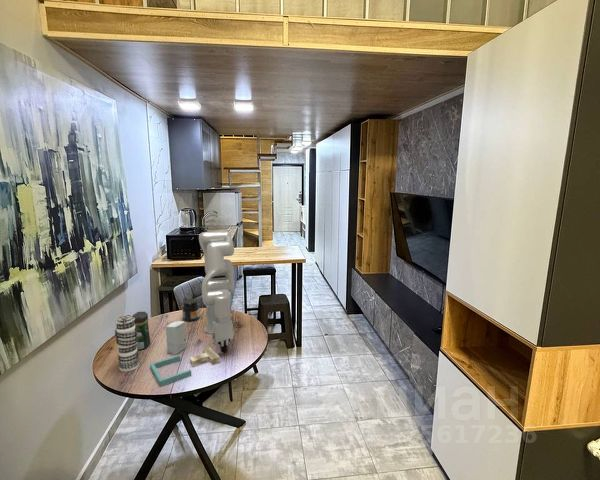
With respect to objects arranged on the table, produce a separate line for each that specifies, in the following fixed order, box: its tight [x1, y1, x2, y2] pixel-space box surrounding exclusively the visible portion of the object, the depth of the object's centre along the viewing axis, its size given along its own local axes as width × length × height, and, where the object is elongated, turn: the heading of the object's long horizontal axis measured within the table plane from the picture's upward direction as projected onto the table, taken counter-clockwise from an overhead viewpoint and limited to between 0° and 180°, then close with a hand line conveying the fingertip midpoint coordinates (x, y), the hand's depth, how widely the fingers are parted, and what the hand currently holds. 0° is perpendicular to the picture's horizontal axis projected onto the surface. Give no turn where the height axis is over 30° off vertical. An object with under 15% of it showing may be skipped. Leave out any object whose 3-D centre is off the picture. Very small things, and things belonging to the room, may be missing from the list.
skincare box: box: [165, 320, 187, 355], centre depth 168 cm, size 8×6×15 cm
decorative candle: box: [114, 314, 140, 372], centre depth 152 cm, size 9×9×25 cm
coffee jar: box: [131, 311, 151, 351], centre depth 172 cm, size 10×8×19 cm
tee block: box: [189, 346, 221, 368], centre depth 158 cm, size 12×12×3 cm
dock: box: [149, 354, 192, 387], centre depth 149 cm, size 14×17×2 cm
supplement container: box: [181, 298, 201, 322], centre depth 208 cm, size 10×10×12 cm
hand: (224, 352), depth 165 cm, fingers closed
